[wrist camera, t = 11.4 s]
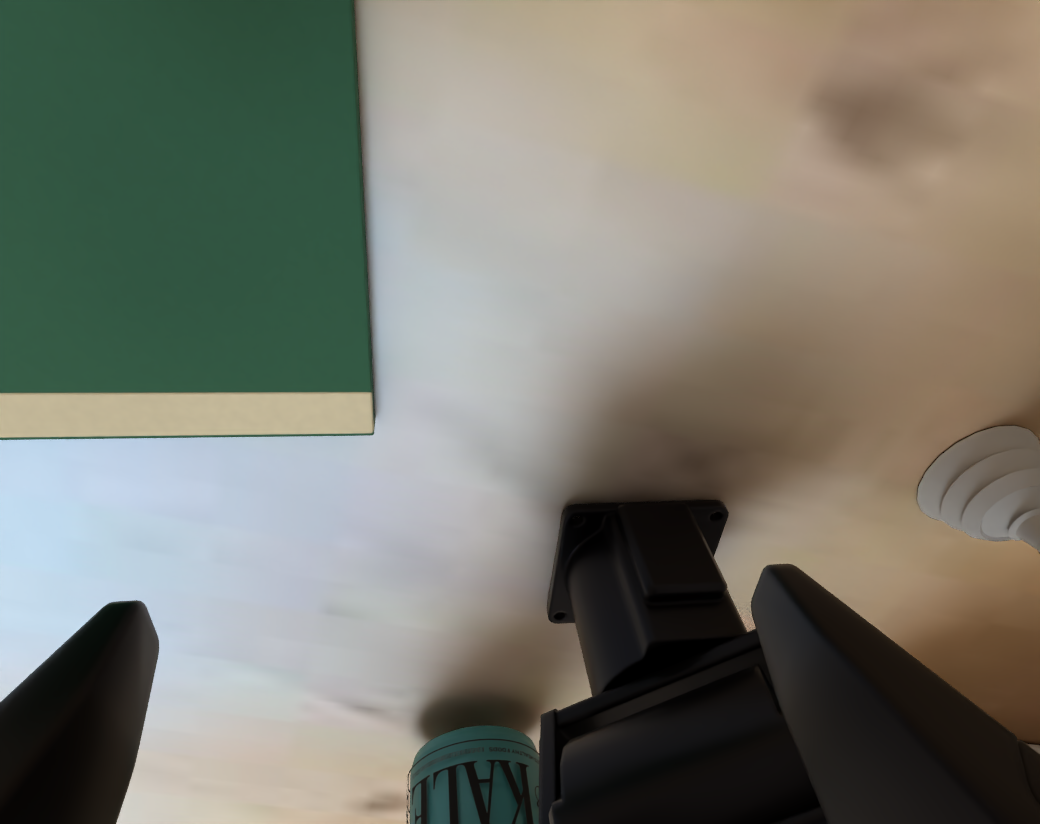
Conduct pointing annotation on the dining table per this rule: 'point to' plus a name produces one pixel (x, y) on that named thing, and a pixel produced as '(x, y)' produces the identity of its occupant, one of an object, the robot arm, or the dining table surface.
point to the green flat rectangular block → (182, 220)
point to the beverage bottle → (476, 778)
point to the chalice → (987, 486)
